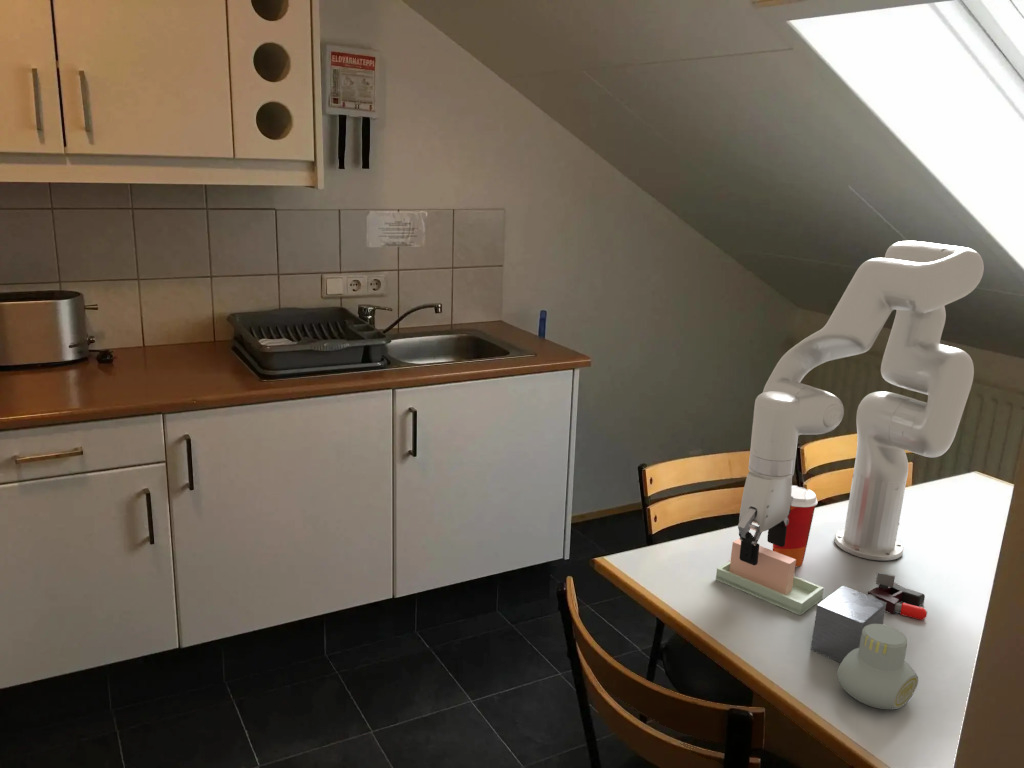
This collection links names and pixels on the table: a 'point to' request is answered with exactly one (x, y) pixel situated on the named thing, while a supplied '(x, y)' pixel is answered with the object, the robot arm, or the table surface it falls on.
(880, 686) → the air freshener
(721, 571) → the tray
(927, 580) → the table surface
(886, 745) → the table surface
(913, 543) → the table surface
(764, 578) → the pink rectangular block
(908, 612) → the toy gun
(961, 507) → the table surface
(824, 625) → the dispenser
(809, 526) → the paper cup
